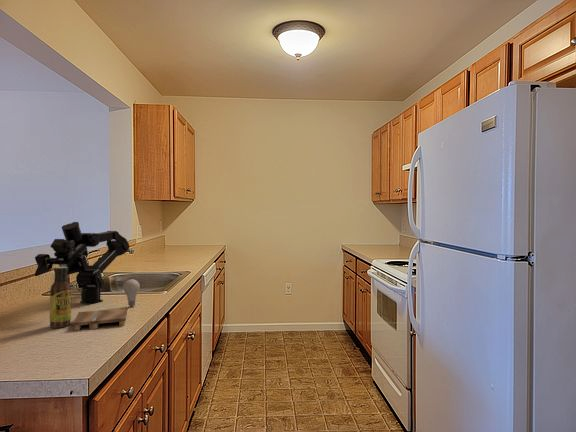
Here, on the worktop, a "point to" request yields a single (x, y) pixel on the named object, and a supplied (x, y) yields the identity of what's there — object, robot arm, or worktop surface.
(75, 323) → the wooden pallet
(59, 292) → the sauce bottle
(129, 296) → the lightbulb
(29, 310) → the worktop surface
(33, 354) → the worktop surface
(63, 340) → the worktop surface
